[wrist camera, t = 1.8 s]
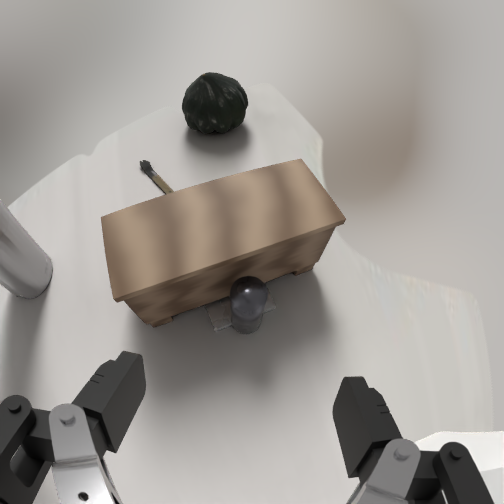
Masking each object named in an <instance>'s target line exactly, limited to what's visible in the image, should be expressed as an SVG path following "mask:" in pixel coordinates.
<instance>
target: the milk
mask: <svg viewBox="0 0 504 504" xmlns="http://www.w3.org/2000/svg"><path fill="white" fill-rule="evenodd" d="M448 442H458V443H461V444H463V445H464V446H465V447H466V448H467V449H468V451H469V453H470V454H471V456H472V458H473V460H474V462H475V464H476V466H477V468H478V470H479V472H480V474H481V476H482V478H483V480H484V482H485V484H486V486H487V489H488V491H489V493H490V495H491V497H492V499H493V502H494V504H504V431H498V432H441V431H439V432H437V433H435V434H432V435H430V436H428V437H426V438H423V439H421V440H419V441H416V442H414V443H415V444H416V445H417V446H418V448H419V450H422V451H439V450H440V449H441V447H442V446H443V445H444V444H446V443H448ZM442 493H443V496H444V499H445V502H446V504H448V502H447V500H446V497H445V494H444V492H443V490H442Z"/></svg>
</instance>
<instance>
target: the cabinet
mask: <svg viewBox="0 0 504 504" xmlns="http://www.w3.org/2000/svg"><path fill="white" fill-rule="evenodd" d="M345 220H346V218H345V217H344V215H343V214H342V213H341V211H340V210H339V208H338V207H337V206H336V204H335V203H334V201H333V200H332V199H331V197H330V196H329V194H328V193H327V192H326V190H325V189H324V188H323V186H322V185H321V184H320V182H319V181H318V180H317V178H316V177H315V176H314V174H313V173H312V172H311V171H310V169H309V168H308V167H307V165H306V164H305V163H304V162H303V160H302V159H297V160H293V161H288V162H284V163H279V164H275V165H271V166H267V167H262V168H258V169H254V170H250V171H246V172H242V173H239V174H235V175H231V176H227V177H224V178H220V179H216V180H213V181H209V182H206V183H202V184H199V185H195V186H192V187H189V188H185V189H182V190H179V191H176V192H172V193H169V194H166V195H163V196H160V197H157V198H154V199H151V200H148V201H145V202H142V203H139V204H136V205H133V206H130V207H127V208H125V209H122V210H119V211H116V212H113V213H111V214H108V215H105V216H103V217H101V222H102V231H103V239H104V247H105V254H106V260H107V267H108V273H109V278H110V284H111V289H112V294H113V299H114V300H115V301H116V302H120V301H123V300H124V301H125V303H126V304H127V305H128V306H129V307H130V308H131V309H132V310H133V311H134V312H135V313H136V314H137V315H138V316H139V317H140V318H141V319H142V321H143V322H144V323H145V324H146V325H147V324H151V325H152V326H153V327H157V326H160V325H163V324H166V323H169V322H172V321H173V319H172V316H173V315H176V314H179V313H182V312H185V311H188V310H191V309H194V308H196V307H199V306H202V305H205V304H208V303H210V302H213V301H216V300H219V299H222V298H224V297H227V296H230V290H231V287H232V285H233V283H234V282H235V281H236V280H237V279H239V278H241V277H244V276H254V277H257V278H259V279H260V280H262V281H263V282H264V283H265V282H267V281H270V280H273V279H275V278H278V277H280V276H283V275H286V274H288V273H291V272H293V273H294V275H295V276H296V275H299V274H301V273H304V272H306V271H309V270H311V269H312V268H313V266H314V264H315V263H316V262H318V261H319V259H320V257H321V255H322V253H323V251H324V249H325V247H326V245H327V243H328V241H329V239H330V237H331V235H332V233H333V231H334V229H335V227H336V226H339V225H342V224H344V222H345Z"/></svg>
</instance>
